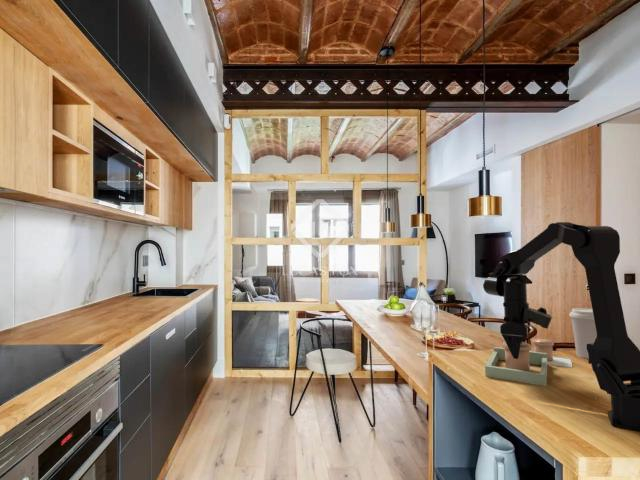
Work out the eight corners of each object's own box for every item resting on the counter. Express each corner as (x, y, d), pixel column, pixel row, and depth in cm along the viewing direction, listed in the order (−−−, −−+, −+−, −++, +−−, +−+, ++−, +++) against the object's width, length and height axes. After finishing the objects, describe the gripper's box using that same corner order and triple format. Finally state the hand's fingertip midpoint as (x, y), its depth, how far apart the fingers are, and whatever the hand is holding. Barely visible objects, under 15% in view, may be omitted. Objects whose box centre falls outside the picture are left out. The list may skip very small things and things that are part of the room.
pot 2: (554, 362, 105) (553, 343, 105) (532, 359, 108) (531, 341, 108) (554, 357, 109) (553, 339, 109) (533, 355, 112) (532, 337, 113)
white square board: (572, 370, 100) (572, 367, 100) (523, 363, 106) (523, 361, 106) (570, 360, 109) (570, 358, 109) (525, 354, 115) (525, 352, 115)
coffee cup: (573, 360, 108) (571, 311, 109) (568, 352, 117) (566, 307, 117) (613, 364, 104) (610, 313, 104) (605, 355, 112) (602, 308, 113)
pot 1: (531, 376, 94) (530, 348, 95) (502, 372, 98) (501, 345, 98) (532, 369, 100) (531, 342, 100) (504, 365, 104) (504, 339, 104)
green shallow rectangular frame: (546, 387, 88) (546, 371, 88) (485, 377, 96) (485, 362, 96) (547, 367, 103) (546, 353, 103) (494, 359, 111) (494, 346, 111)
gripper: (548, 305, 88) (551, 368, 87) (549, 296, 103) (551, 350, 103) (499, 302, 94) (501, 361, 93) (506, 294, 109) (508, 345, 109)
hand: (517, 354), depth 99 cm, fingers open, 9 cm apart
